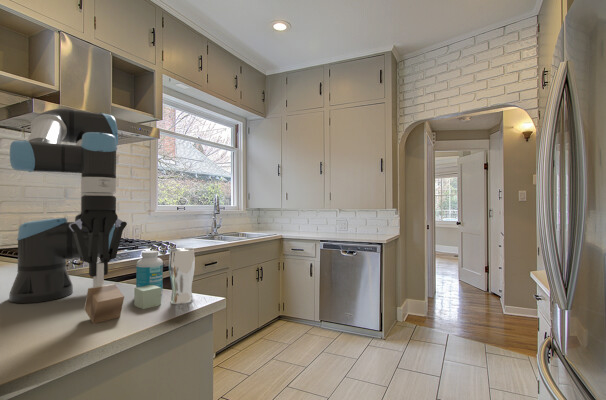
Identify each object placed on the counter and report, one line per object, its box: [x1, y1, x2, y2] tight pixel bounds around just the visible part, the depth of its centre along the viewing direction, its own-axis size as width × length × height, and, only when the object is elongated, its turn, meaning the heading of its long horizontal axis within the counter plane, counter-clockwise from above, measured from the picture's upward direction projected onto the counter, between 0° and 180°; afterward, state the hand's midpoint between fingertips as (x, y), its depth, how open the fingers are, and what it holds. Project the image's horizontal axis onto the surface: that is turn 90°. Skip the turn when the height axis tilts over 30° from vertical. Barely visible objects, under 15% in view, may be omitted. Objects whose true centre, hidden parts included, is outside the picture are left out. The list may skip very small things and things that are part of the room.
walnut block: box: [84, 283, 125, 325], centre depth 83 cm, size 6×6×6 cm
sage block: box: [133, 285, 162, 310], centre depth 94 cm, size 5×5×5 cm
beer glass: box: [168, 247, 196, 306], centre depth 97 cm, size 7×7×15 cm
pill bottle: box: [135, 250, 164, 295], centre depth 103 cm, size 8×7×14 cm
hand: (98, 288), depth 85 cm, fingers closed
